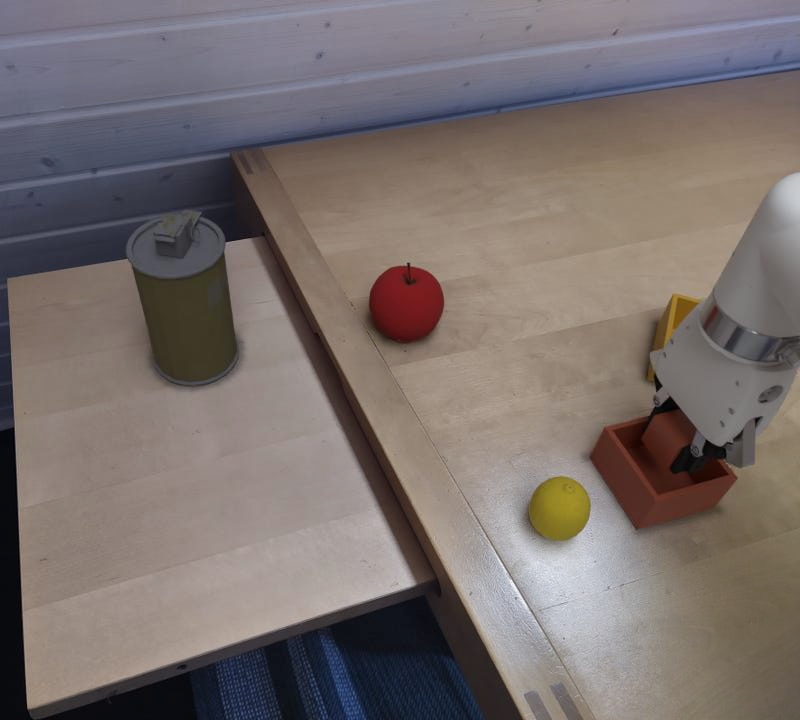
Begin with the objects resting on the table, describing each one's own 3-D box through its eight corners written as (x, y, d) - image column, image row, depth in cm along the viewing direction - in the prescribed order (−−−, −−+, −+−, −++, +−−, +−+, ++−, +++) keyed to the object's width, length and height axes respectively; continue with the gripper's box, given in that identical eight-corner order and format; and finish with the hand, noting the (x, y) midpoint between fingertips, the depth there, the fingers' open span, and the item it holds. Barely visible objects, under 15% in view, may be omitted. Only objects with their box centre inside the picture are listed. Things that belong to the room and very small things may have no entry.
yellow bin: (737, 407, 82) (760, 376, 78) (646, 379, 85) (663, 348, 81) (742, 349, 88) (763, 316, 84) (657, 324, 91) (673, 292, 87)
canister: (223, 393, 84) (202, 263, 69) (140, 378, 85) (103, 247, 70) (250, 329, 91) (237, 198, 76) (173, 316, 92) (145, 185, 77)
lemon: (520, 547, 70) (538, 506, 64) (523, 500, 74) (540, 456, 68) (577, 560, 70) (601, 519, 64) (577, 511, 73) (600, 468, 67)
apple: (355, 338, 90) (358, 279, 82) (383, 295, 95) (388, 235, 88) (424, 362, 87) (434, 303, 79) (449, 316, 92) (460, 256, 85)
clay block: (698, 461, 70) (715, 437, 67) (663, 471, 70) (679, 447, 67) (674, 429, 73) (689, 405, 70) (640, 438, 72) (654, 415, 69)
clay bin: (714, 507, 73) (738, 478, 69) (636, 530, 72) (656, 501, 68) (662, 437, 79) (681, 406, 75) (589, 457, 78) (604, 426, 73)
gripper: (870, 386, 53) (757, 511, 67) (725, 248, 64) (653, 380, 77) (786, 409, 52) (688, 531, 65) (652, 263, 62) (592, 395, 76)
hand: (670, 448), depth 71 cm, fingers closed on clay block, 4 cm apart
